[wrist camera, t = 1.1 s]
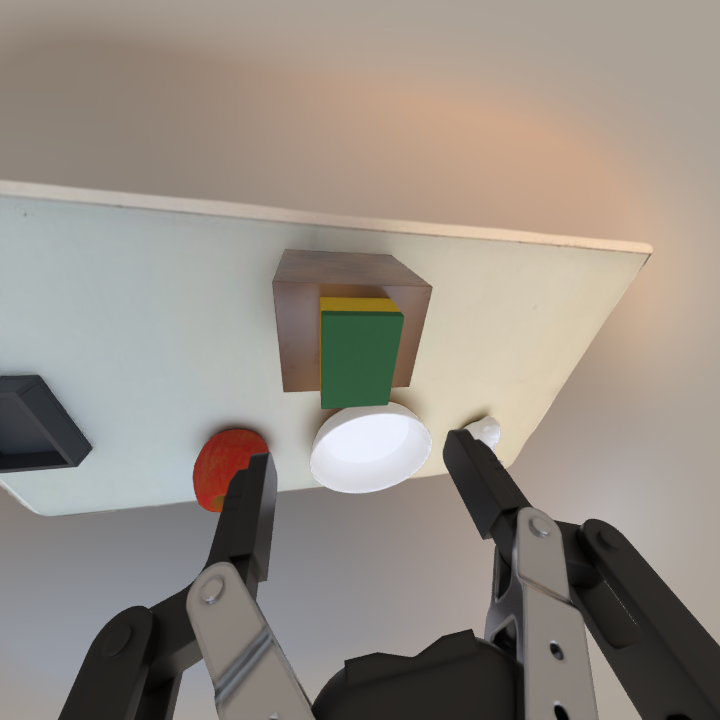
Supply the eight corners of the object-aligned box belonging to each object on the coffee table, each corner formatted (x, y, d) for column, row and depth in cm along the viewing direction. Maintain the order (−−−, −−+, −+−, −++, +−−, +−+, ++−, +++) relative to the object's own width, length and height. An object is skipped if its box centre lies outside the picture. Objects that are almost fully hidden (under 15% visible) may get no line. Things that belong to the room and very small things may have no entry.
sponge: (319, 296, 19) (321, 315, 16) (391, 298, 20) (405, 316, 17) (319, 382, 23) (321, 409, 20) (378, 380, 24) (388, 405, 21)
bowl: (299, 395, 39) (298, 426, 34) (422, 376, 41) (438, 402, 36) (318, 471, 50) (319, 502, 45) (414, 452, 52) (426, 481, 47)
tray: (-74, 378, 29) (-111, 396, 26) (39, 375, 31) (14, 391, 28) (5, 454, 36) (-18, 475, 33) (93, 448, 38) (77, 467, 35)
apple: (221, 468, 45) (200, 534, 36) (191, 429, 39) (158, 497, 30) (279, 455, 45) (272, 517, 37) (259, 415, 40) (245, 477, 31)
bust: (475, 400, 49) (468, 436, 40) (516, 418, 47) (519, 461, 38) (451, 442, 56) (441, 481, 47) (487, 459, 53) (483, 505, 44)
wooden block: (290, 332, 33) (283, 392, 23) (285, 249, 28) (272, 281, 18) (380, 332, 35) (409, 387, 25) (391, 255, 30) (432, 286, 20)
